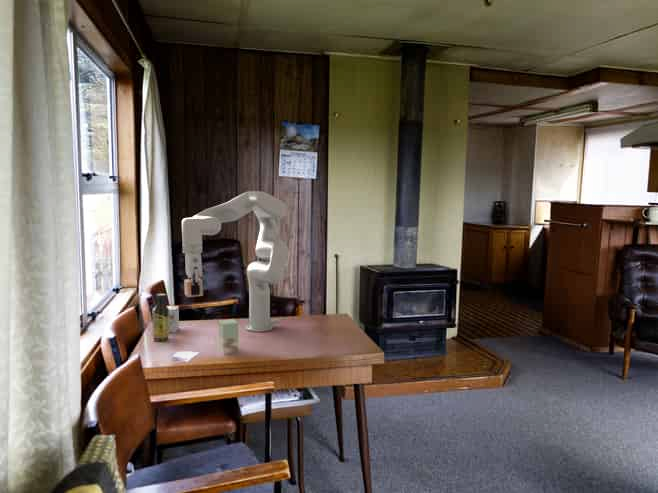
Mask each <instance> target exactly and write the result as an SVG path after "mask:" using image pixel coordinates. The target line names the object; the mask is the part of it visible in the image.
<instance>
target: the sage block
mask: <svg viewBox="0 0 658 493" xmlns="http://www.w3.org/2000/svg"><path fill="white" fill-rule="evenodd" d="M218 329H219V330H218V332H219V334H218V336H220V337H221V338H222V339H230V338H238V339H239V322H238V321H237V320H235V319H233V318H231V319H223V320H219V321H218Z"/></svg>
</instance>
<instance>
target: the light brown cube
mask: <svg viewBox="0 0 658 493" xmlns="http://www.w3.org/2000/svg"><path fill="white" fill-rule="evenodd" d="M183 280H184V281H183V283H184V284H183V285H184V290H183V291H184V295H185V296H186V297H187V298H194V297H202V296H204V290H203V288H204V287H203V286H204V285H203V280H202V278H199V285H200V294H199V295H191V285H192V281H191V279H188V278H187V279H183ZM193 282H194V279H193Z"/></svg>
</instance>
